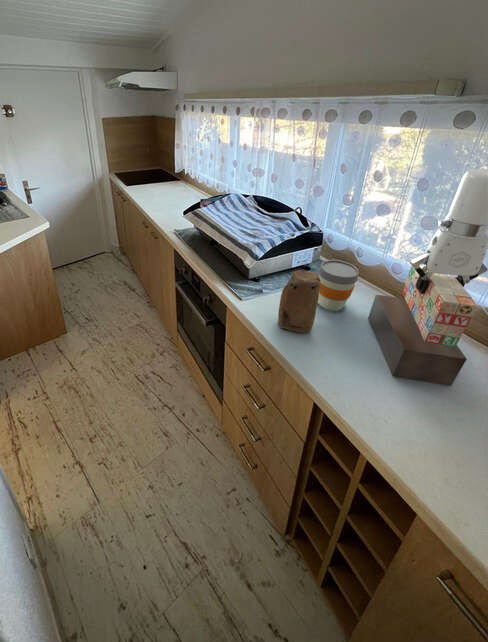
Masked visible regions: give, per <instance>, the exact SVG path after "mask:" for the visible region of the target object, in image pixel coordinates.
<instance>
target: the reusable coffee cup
mask: <svg viewBox="0 0 488 642" xmlns="http://www.w3.org/2000/svg"><path fill="white" fill-rule="evenodd" d="M318 275H319V276H320V292H319V299H318V305H319V306H320V307H322V308H323V309H326V310H328V311H334V312H335V311H340V310H341V311H342V310H343V308H344V307H345V305H346V303H347V300H348V299H350V297H351V295H352V293H353V291H354V290H355V283H357V282H358V278H359V269H358V268H357V267H356V265H354V264H352V263H349V262H347V261H344V260H340V259H327V260H324V261H322V262H321V264H320V266H319V269H318Z"/></svg>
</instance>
